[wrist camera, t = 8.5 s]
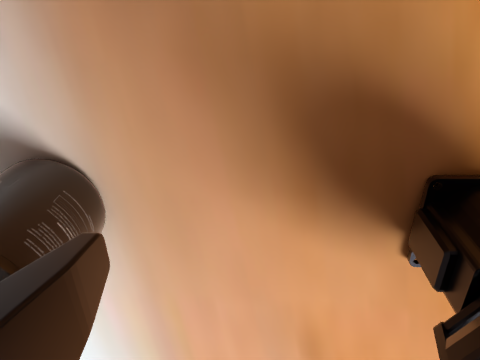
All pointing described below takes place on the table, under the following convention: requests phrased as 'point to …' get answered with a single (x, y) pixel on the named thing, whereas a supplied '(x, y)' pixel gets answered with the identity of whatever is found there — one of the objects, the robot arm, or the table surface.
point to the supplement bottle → (43, 211)
